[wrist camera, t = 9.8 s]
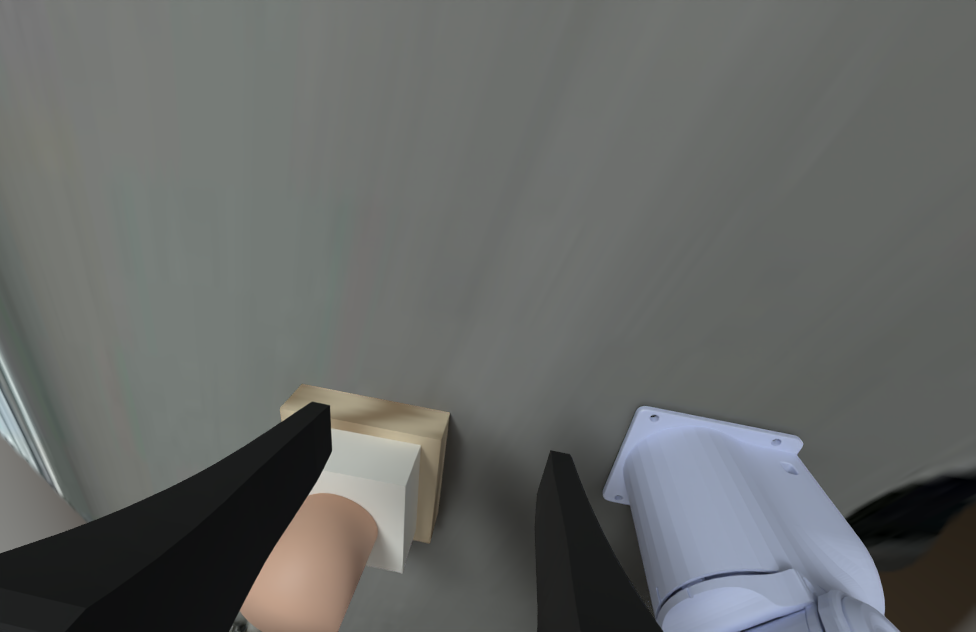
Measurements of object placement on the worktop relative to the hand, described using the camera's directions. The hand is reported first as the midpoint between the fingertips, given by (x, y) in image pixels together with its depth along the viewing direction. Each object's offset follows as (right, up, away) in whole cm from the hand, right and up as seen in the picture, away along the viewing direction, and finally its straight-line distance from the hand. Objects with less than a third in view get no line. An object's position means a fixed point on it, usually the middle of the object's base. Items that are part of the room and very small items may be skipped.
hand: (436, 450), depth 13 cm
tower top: (-7, -6, +13) cm, 16 cm away
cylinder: (-7, -8, +11) cm, 15 cm away
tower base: (-6, -5, +16) cm, 18 cm away
